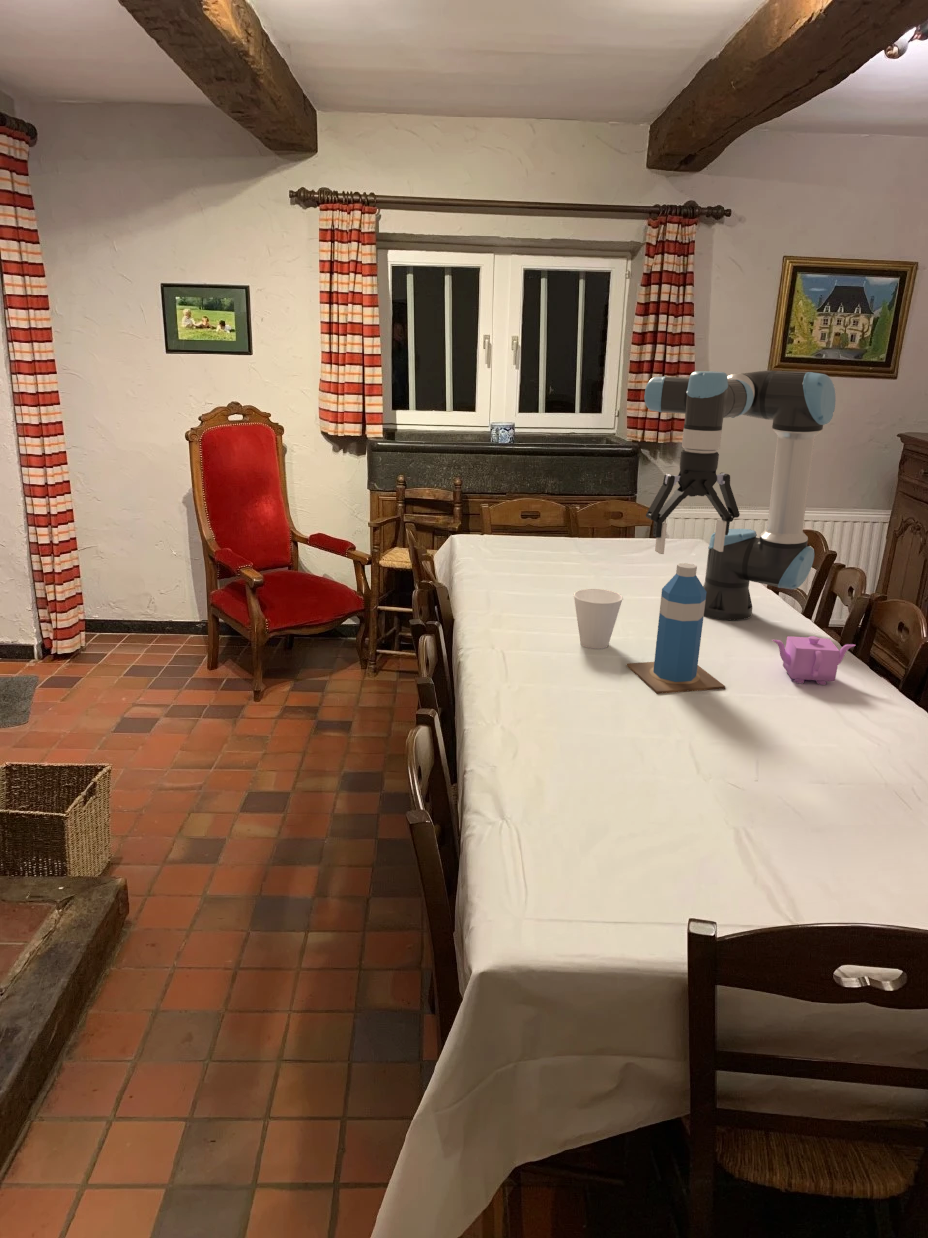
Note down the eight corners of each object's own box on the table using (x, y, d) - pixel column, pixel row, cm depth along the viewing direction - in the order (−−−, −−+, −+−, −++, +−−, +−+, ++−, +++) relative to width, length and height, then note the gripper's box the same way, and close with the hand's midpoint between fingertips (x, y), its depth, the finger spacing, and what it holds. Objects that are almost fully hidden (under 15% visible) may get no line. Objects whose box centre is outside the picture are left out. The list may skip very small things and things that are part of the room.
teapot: (839, 668, 194) (846, 629, 191) (857, 691, 182) (865, 649, 178) (759, 663, 196) (765, 624, 193) (772, 685, 183) (778, 644, 180)
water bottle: (697, 684, 181) (711, 572, 173) (653, 680, 183) (665, 569, 175) (694, 668, 190) (707, 561, 182) (652, 664, 192) (663, 558, 184)
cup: (628, 644, 206) (632, 596, 202) (600, 656, 198) (604, 606, 194) (588, 632, 214) (591, 585, 210) (560, 643, 205) (563, 595, 201)
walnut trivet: (690, 661, 196) (690, 658, 196) (725, 688, 181) (725, 685, 181) (626, 665, 192) (626, 663, 192) (656, 694, 178) (657, 690, 177)
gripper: (745, 447, 177) (732, 544, 184) (635, 448, 171) (627, 549, 178) (765, 452, 170) (751, 553, 177) (651, 453, 164) (641, 558, 171)
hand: (688, 551), depth 178 cm, fingers open, 13 cm apart
